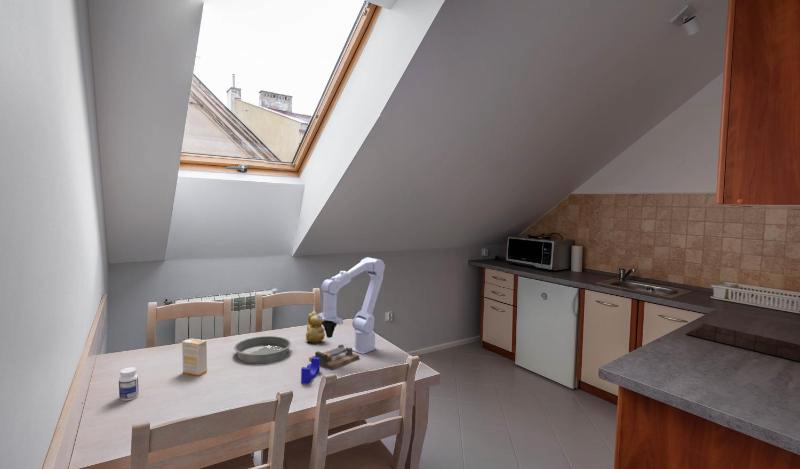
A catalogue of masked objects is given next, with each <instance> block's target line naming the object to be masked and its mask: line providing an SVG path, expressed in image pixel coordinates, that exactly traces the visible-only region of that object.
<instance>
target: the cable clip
mask: <svg viewBox="0 0 800 469" xmlns="http://www.w3.org/2000/svg"><path fill="white" fill-rule="evenodd" d="M312 357H313V356H312ZM320 367H321V366H320V358H317V357H313V358H312V360H311V361H310V363H309V364H307V365H306V366H305V367H304V366H303V367H301V371H300V383H301V384H306V385H309V384H310V383H311V382H312V381H311V380H314V378H316V376H318V374H319V373H320V371H321V368H320Z"/></svg>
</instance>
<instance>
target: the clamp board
mask: <svg viewBox="0 0 800 469" xmlns="http://www.w3.org/2000/svg"><path fill="white" fill-rule="evenodd" d="M342 346H344V344H339V345H338V346H337V347H336V348H332V349H331V350H334V349H337V348H339V347H342ZM347 348H348V349H347V351H345V352H343V353H340V354H338V355H335V356H333V357H330V358H328V359H327V354H324V353H323V352H321V351H315V354H314V355H312V356H310V357H309V358H308V361H309V362H311V360H312V358H313V357H317V358H320V367H322V368H325V369H327V370H335V369H336V368H340V367H341V366H344V365H347V364H349V363H351V362H352V363H353V362H354V361H357V360H359V359H360V355H359V354H357V353H354V352H353V351H352V347H347ZM331 350H327V351H326V352H329V351H331Z"/></svg>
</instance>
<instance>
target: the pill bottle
mask: <svg viewBox="0 0 800 469" xmlns="http://www.w3.org/2000/svg"><path fill="white" fill-rule="evenodd" d="M119 373H120V374H119V375H120V377H119V378H118V392H119V393H118V396H119V398H118V399H119V400H121V401H124V402H126V401H132V400H135V399H136V398H138V397H139V394H140V393H139V375H138V374H137V368H136V367H133V366H132V367H125V368H123V369H120V371H119Z"/></svg>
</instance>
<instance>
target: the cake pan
mask: <svg viewBox="0 0 800 469" xmlns="http://www.w3.org/2000/svg"><path fill="white" fill-rule="evenodd" d="M268 345H270V346H272V347H271V348H270V349H269V348H267V347H263V346H268ZM291 345H292V342H291V340H289V339H287V338H286V337H282V336H275V335H263V336H256V337H255V336H254V337H250V338H245V339H243V340H240V341H239V342H237V343H236V344H234V346H233V349H234V351H235V352H236V355H237V358H239V360H240V361H242V362H245V363H246V362H247V363H254V364H258V363H260V364H261V363H268V362H269V363H270V362H274V361H279V360H280V359H282V358H284V357H285V356H286V355H287V354H288V351H289V348H290V347H291ZM275 346H277V347H275ZM256 347H261V348H259V349H258V350H256V351H253V352H250V353H246V352H244V351H245V350H248V349H251V348H256ZM273 347H274V348H273ZM280 348H281V349H280ZM274 349H275V350H274ZM277 349H278V350H277ZM279 349H280V350H279Z"/></svg>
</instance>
